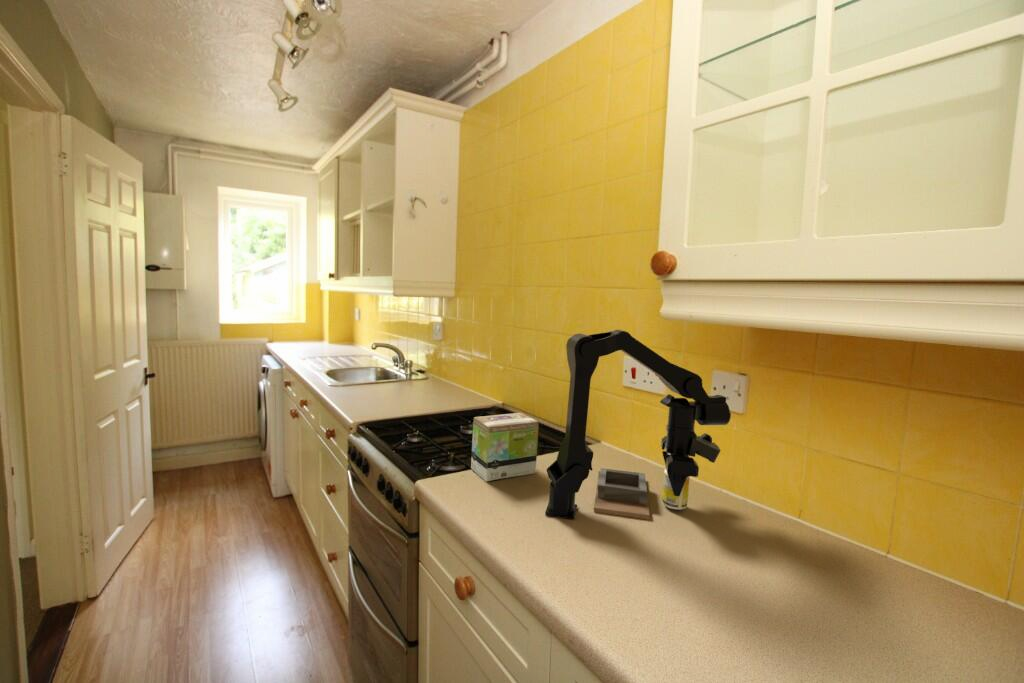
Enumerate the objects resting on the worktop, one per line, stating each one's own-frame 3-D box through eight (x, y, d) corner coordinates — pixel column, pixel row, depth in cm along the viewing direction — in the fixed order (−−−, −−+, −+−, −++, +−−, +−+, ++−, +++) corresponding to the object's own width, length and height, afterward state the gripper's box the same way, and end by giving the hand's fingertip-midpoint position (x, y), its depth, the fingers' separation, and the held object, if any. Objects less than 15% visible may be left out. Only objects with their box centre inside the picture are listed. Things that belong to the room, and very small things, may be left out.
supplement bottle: (682, 500, 112) (685, 458, 110) (690, 511, 106) (694, 467, 105) (658, 499, 112) (661, 457, 110) (665, 510, 106) (669, 466, 105)
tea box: (486, 483, 118) (488, 426, 117) (470, 469, 127) (471, 416, 125) (537, 473, 126) (539, 420, 124) (518, 461, 134) (520, 410, 133)
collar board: (649, 519, 102) (650, 502, 102) (593, 511, 105) (594, 494, 105) (644, 480, 124) (645, 465, 123) (598, 474, 126) (599, 460, 126)
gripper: (727, 441, 96) (720, 514, 98) (711, 417, 114) (705, 479, 116) (670, 435, 98) (664, 506, 100) (663, 413, 116) (658, 473, 118)
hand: (675, 490), depth 108 cm, fingers closed on supplement bottle, 6 cm apart
